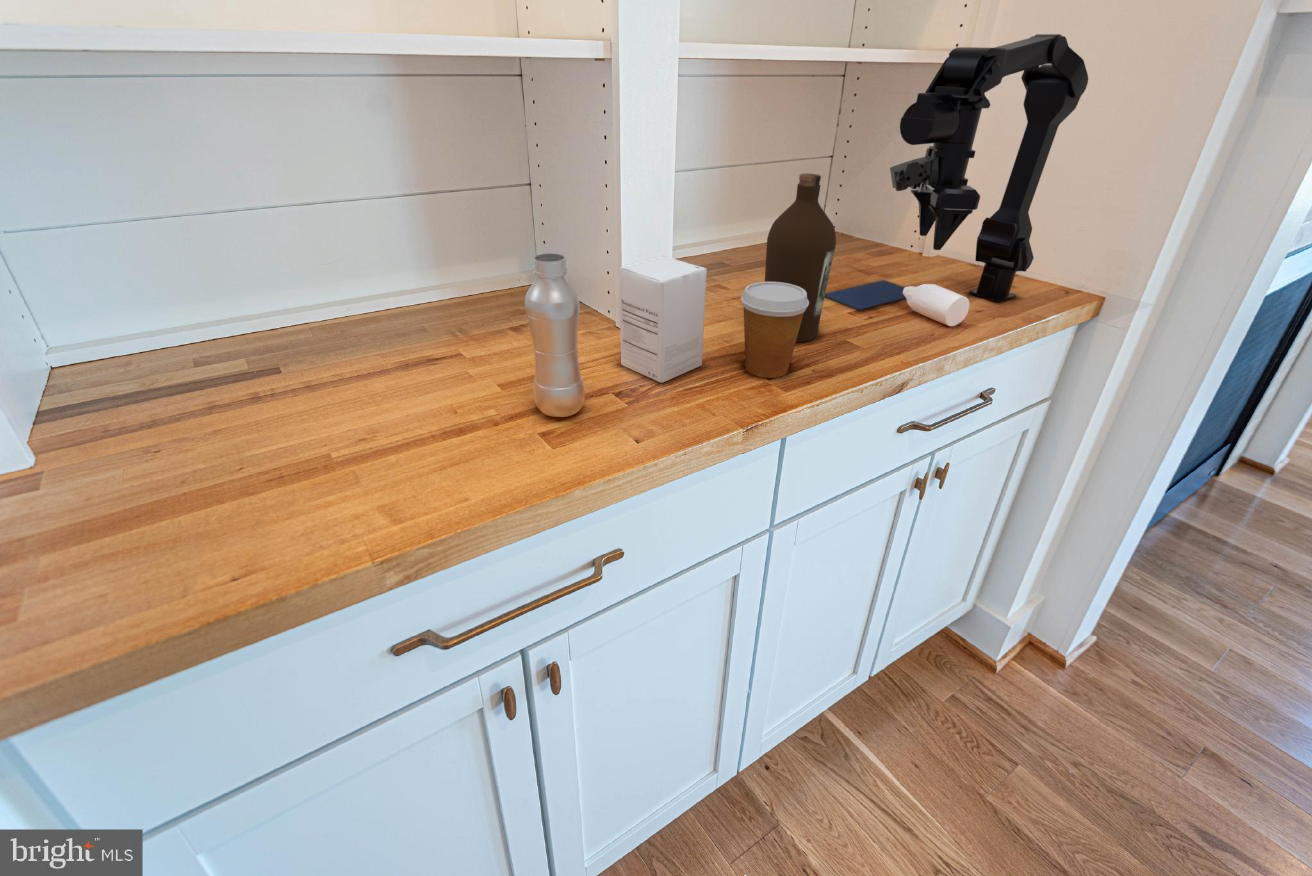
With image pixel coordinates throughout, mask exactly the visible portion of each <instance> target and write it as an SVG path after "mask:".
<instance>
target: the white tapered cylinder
mask: <svg viewBox="0 0 1312 876" xmlns="http://www.w3.org/2000/svg"><path fill="white" fill-rule="evenodd" d="M903 295H904V296H905V297H906V299H905V300H906V303H907V305H908V307H909V308H910V309H911V310H912V311H913V312H916V313H917V314H919V315H922V316H924V317H927V318H929V319H931V320H934V321H936V322H937V323H938V322H939V323H941V324H942V325H945V326H948V327H955V326H957V325H959V324H961V323H962V322H963V321H964V320H965V319H966V317H967V315H968V313H969V311H970V300H969V298H968V297H967V296H965V295H962V294H959V293H957V292H955V291H952V290H950V289H948V288H945V287H942V286H940V285H938V284H935V283H923V284H919V285H917V286H914V285H909V286H906V287H905V288H904V290H903Z"/></svg>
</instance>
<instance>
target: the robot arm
mask: <svg viewBox="0 0 1312 876" xmlns="http://www.w3.org/2000/svg"><path fill="white" fill-rule="evenodd" d="M1020 72H1022V75H1021V77H1020V79H1021V81H1022V84H1023V86H1024V88H1025V96H1024V98H1023V99H1024V100H1023V109H1024V113H1025V117H1026V126H1025V129H1024V132H1023V135H1022V138H1021V142H1020V144H1019V147H1018V150H1017V154H1016V156H1015V160H1014V162H1013V166H1012V168H1011V171H1010V175H1009V177H1008V181H1007V184H1006V186H1005V190H1004V192H1003V196H1002V199H1001V202H1000V206H999V208H998V209H997V210H996V211H995V212H994V213H993V214H992V215H991V216H990V217H985V219H984V220H983V221H982V224H981V227H980V231H979V233H978V236H977V238H976V245H975V258H974V259H975V260H974V261H975V262H980V263H983V264H984V266H983V269H982V272H981V275H980V277H979V282H978V285H977V288H974V289H971V290H969V291H968V294H970V295H973V296H976V297H979V298H982V299H986V300H989V301H991V302H995V303H1002V302H1005V301H1008V300H1012V299H1015V298H1017V294H1016V293H1012V292H1011V290H1012V286H1013V283H1014V281H1015V277H1016V274H1017V272H1027V270H1028V269H1030V267H1031V265H1032V263H1033V261H1034V258H1035V257H1034V253H1033V250H1032V246H1031V243H1030V239H1031V236H1032V231H1033V226H1032V222H1031V218H1030V213H1029V212H1030V208H1031V205H1032V203H1033V200H1034V197H1035V195H1036V191H1037V189H1038V185H1039V182H1040V181H1041V177H1042V174H1043V172H1044V168H1045V167H1046V163H1047V160H1048V157H1049V154H1050V153H1051V152H1050V151H1051V149H1052V147H1053V146H1052V145H1053V143H1054V140H1055V138H1056V135H1057V132H1058V129H1059V127H1060V125H1061V124H1062V123H1063V122H1064V121H1065V120H1066V119H1067V118H1068V117H1069V116H1070V115H1071V114H1072V113H1073V111H1075V110H1076V108H1077V107H1078V104H1079V101H1080V100H1081V97H1082V95H1083V94H1084V92H1085V91H1086V89H1087V87H1088V84H1089V74H1088V70H1087V67H1086V63H1085V60H1084V59H1083V58H1082V56H1080V55H1079V54H1078V53H1076V51H1074V49H1072V48H1071V47H1070V46H1069V43H1068V40H1067V37H1066V36H1063V35H1062V34H1061V33H1055V34H1053V33H1051V34H1050V33H1044V34H1043V33H1041V34H1040V33H1037V34H1035V35H1031V36H1030V37H1029V38H1025V39H1024V38H1023V39H1021V40H1017V41H1013V42H1010V43H1006V44H1003V45H998V46H995V47H979V46H978V47H975V46H973V47H968V46H966V47H965V46H961V47H960V46H958V47H955V48H953V49H952V50H951V51H949V53H948V57H946V59H944V61H943V63H942V64H941V66H940V67H939V69H938V71H937V72H936V74H935V75H934V77H933V79H932V80H931V82H930V83H929V85H928V87H927V89H926V90H925V92H919V93H918V94H917V97H916V102H914V103H912V104H911V105H909V107H907V108H906V110H905V111H904V113H903V115H902V117H901V118H900V122H899V133H900V135H901V138H902V140H903V141H904V142H905V143H906V144H908V145H911V146H919V145H929V144H932V145H929V146H928V147H927V148H926V151H925V156H921V157H919V158H914V159H911V160H908V161H905V162H901V163H898V164H896V165H892V166H891V167H890V168H889V172H890V179H891V185H892V188H893V189H895V191H896V192H901V191H902V192H903V191H906V190H907V189H908V188H910V193H911V194H912V195H913V196H914V198H915V199H916V200H917V202H918V225H919V236H921V237H927V236H928V234H929V232H930V231H931V229H932V228H933V226H934V231H933V232H934V233H933V244H932V249H933V250H934V251H941V250H942V249H943V247H944V246H945V245H946V244H947V242H948V241H949V240H950V238H951V237H952V236H953V235H954V233H955V232H956V231H957V229H958V228H959V227H960V226H961V225H962V223H964V221H965V220H966V219H967V218H968V217H969V215H972V214H973V212H974V211H975V210H977V209H978V208H979V204H980V200H981V195H980V193H979V192H978V191H977V190H976V189H975V188H973V187H972V186H971V185H968V183H969V179H968V178H967V177H966V174H967V169H968V166H969V163H970V159H974V158H975V156H976V150H974V149H973V146H974V142H975V138H976V134H977V132H978V131H977V130H978V126H979V122H980V119H981V114H982V110H983V109H989V108H990V107H991V102H990V100H989V98H987V96H986V94H985V93H987V92H989V91H990V90H993V89H994V88H995V87H998V86H999V85H1000V84H1002V80H1003V78H1005V77H1006V76H1007V77H1008V76H1010V75H1014V74H1017V73H1020Z"/></svg>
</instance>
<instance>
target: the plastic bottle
mask: <svg viewBox="0 0 1312 876" xmlns="http://www.w3.org/2000/svg"><path fill="white" fill-rule="evenodd" d="M532 271H533V275H534V276H535V279H534V281H533V282H532V284H531V285H530V286H529V288H528V290H527V292H526V294H525V297H524V309H525V312H526V318H527V321H528V325H529V330H530V334H531V339H532V346H533V354H534V378H533V388H532V389H533V390H532V396H533V399H534V403H535V406H536V408H538V411H540V412H541V413H542V414H544V415H546V416H548V417H554V418H564V417H565V418H566V417H570V416H573V415H575V414H577V413H578V412H579V411H580V410H581V409H582V407H583V406H584V404H585V397H586V390H585V385H584V381H583V377H582V374H581V367H580V361H579V355H578V353H579V352H578V330H579V320H580V305H581V303H580V299H579V296H578V293H577V292H576V290H575V288H574V287H573V286H572V284H571V283H570V282H569V280H567V278H566V275H567V274H568V268H567V260H566V256H565V255H564V254H560V253H552V252H551V253H550V252H549V253H548V252H547V253H540V254H539V253H538V254H536V255H534V256H533V269H532Z"/></svg>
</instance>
